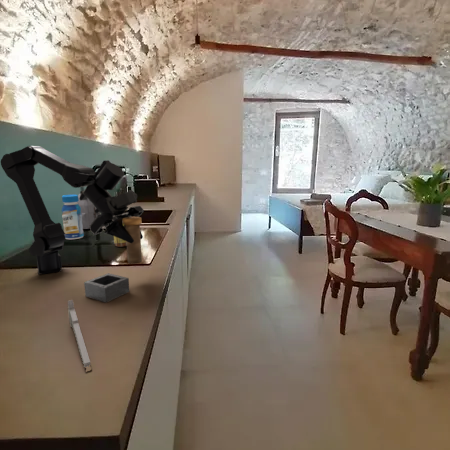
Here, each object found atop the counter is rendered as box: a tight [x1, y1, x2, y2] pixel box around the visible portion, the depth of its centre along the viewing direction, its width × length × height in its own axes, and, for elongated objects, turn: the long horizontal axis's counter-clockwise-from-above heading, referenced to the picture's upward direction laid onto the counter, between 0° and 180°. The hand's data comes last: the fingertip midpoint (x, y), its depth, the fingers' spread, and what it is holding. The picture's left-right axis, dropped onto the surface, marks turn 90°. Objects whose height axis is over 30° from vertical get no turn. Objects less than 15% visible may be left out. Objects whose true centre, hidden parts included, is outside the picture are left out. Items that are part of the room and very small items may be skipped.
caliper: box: [67, 299, 91, 368], centre depth 64 cm, size 20×1×6 cm, turn 33°
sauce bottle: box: [113, 225, 127, 248], centre depth 136 cm, size 7×6×20 cm
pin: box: [123, 216, 143, 265], centre depth 94 cm, size 5×5×13 cm
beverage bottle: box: [61, 194, 85, 240], centre depth 150 cm, size 8×8×20 cm
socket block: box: [83, 272, 130, 303], centre depth 88 cm, size 8×8×4 cm
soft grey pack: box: [77, 193, 101, 230], centre depth 171 cm, size 15×8×20 cm, turn 172°
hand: (137, 240), depth 94 cm, fingers closed on pin, 4 cm apart
